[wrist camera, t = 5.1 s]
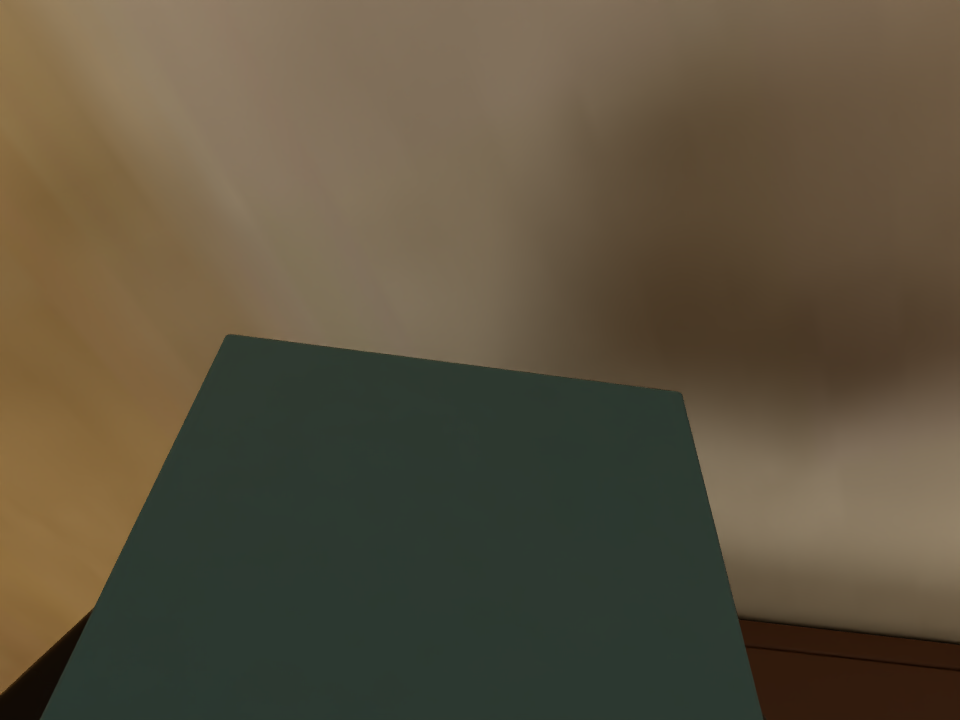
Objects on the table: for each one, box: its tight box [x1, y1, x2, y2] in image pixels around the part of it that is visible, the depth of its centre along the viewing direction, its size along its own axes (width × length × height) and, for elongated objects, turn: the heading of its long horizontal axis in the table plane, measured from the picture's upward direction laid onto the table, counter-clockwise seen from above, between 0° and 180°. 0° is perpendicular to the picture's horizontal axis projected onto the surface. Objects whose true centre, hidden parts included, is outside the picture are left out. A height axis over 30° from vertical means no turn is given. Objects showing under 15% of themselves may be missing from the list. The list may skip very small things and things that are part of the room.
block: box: [40, 334, 763, 720], centre depth 9 cm, size 5×5×4 cm
